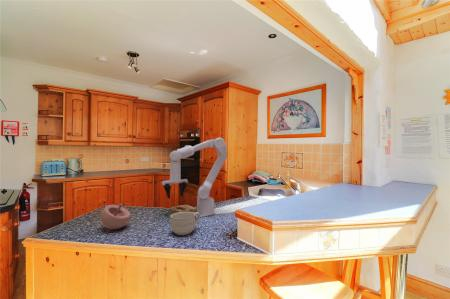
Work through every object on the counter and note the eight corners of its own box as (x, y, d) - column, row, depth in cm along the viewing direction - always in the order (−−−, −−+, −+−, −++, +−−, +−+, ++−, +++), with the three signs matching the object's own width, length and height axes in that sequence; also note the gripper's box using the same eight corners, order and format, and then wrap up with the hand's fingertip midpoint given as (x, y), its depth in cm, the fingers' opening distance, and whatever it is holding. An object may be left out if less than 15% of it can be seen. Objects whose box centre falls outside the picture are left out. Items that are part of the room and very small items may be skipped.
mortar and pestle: (123, 233, 88) (124, 206, 88) (94, 234, 87) (95, 207, 88) (134, 223, 100) (134, 200, 100) (108, 224, 99) (109, 200, 100)
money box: (186, 216, 112) (186, 204, 112) (196, 221, 104) (196, 208, 104) (170, 219, 106) (170, 207, 106) (179, 225, 98) (180, 211, 98)
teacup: (173, 239, 83) (173, 219, 83) (167, 230, 92) (167, 212, 92) (205, 233, 89) (206, 215, 89) (197, 225, 99) (197, 208, 99)
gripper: (183, 171, 122) (183, 194, 122) (159, 172, 113) (159, 197, 113) (189, 172, 117) (189, 196, 117) (165, 173, 108) (164, 199, 108)
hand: (175, 196), depth 115 cm, fingers open, 7 cm apart
